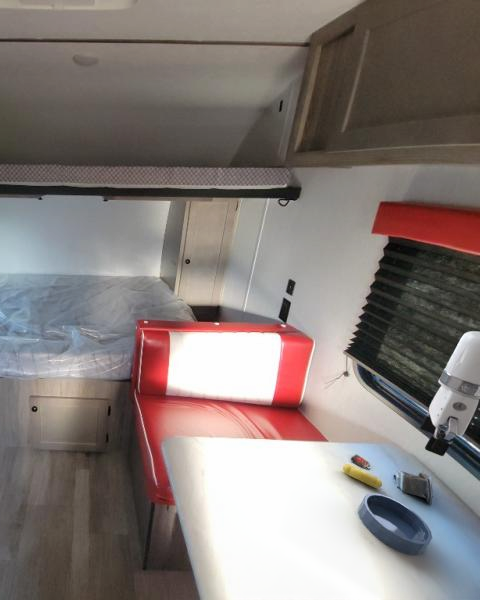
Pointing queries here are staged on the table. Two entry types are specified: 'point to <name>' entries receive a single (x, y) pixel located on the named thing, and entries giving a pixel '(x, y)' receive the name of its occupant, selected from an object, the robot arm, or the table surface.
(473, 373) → the robot arm
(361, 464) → the matchbox
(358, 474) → the yellow rounded cylinder
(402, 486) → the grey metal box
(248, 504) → the table surface
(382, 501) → the bowl
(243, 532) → the table surface
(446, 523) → the table surface
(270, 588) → the table surface
